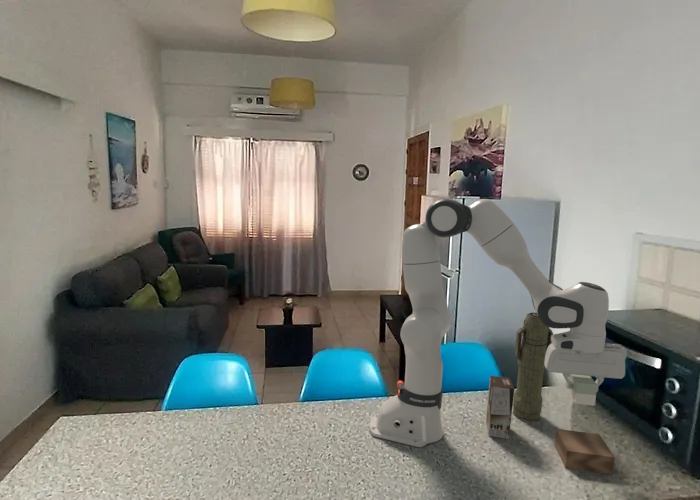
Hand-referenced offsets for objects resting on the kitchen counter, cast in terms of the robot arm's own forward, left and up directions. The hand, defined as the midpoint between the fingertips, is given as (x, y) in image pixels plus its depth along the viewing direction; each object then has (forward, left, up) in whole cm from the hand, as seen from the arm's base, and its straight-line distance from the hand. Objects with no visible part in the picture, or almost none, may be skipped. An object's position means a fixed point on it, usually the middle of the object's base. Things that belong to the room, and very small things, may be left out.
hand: (581, 389), depth 130 cm
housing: (0, 0, -3) cm, 3 cm away
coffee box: (-20, +11, -21) cm, 30 cm away
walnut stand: (+2, +1, -21) cm, 21 cm away
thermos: (-9, +24, -21) cm, 33 cm away
